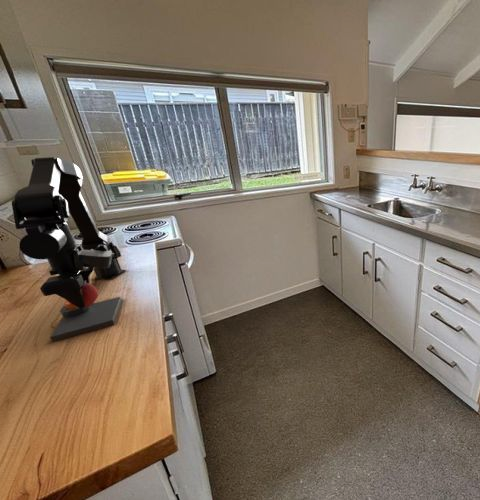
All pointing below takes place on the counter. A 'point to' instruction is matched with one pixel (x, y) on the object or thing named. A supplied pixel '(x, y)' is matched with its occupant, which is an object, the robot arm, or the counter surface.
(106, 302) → the scale
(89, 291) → the onion
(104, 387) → the counter surface
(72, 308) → the tare button
